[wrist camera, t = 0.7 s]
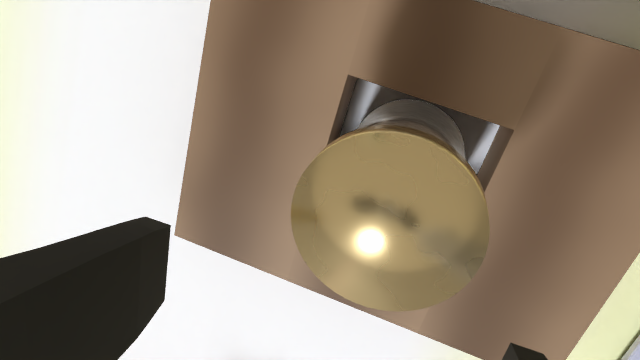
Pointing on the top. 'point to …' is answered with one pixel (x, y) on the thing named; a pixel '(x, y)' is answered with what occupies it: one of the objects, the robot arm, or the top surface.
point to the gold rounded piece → (393, 210)
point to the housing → (449, 91)
